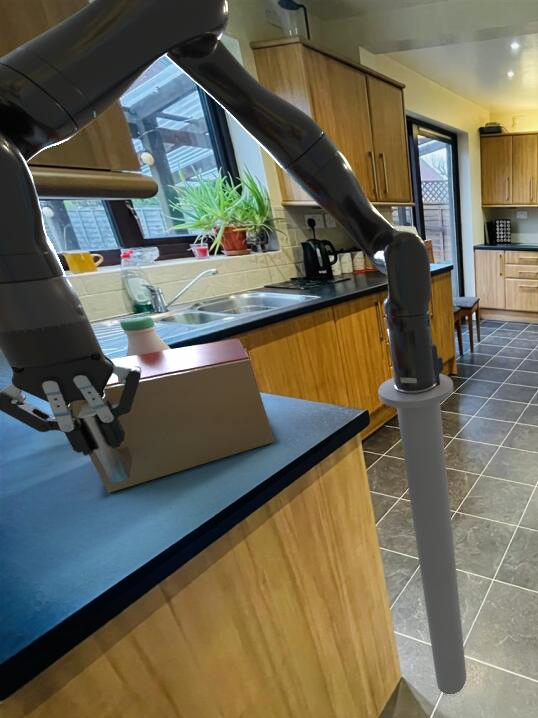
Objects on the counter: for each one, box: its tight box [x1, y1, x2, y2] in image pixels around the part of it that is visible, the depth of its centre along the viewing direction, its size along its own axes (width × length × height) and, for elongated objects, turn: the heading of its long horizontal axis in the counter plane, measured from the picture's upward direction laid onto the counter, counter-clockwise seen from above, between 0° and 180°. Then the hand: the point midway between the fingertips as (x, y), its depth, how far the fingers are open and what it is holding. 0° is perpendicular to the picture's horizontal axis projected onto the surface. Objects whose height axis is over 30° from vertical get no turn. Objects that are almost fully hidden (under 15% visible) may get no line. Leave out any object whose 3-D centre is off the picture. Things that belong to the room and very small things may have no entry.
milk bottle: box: [119, 316, 172, 357], centre depth 79 cm, size 8×8×20 cm
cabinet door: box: [73, 358, 275, 494], centre depth 60 cm, size 8×22×16 cm, turn 129°
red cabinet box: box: [106, 338, 250, 386], centre depth 68 cm, size 14×22×16 cm, turn 129°
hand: (103, 448), depth 52 cm, fingers closed on cabinet door, 2 cm apart
